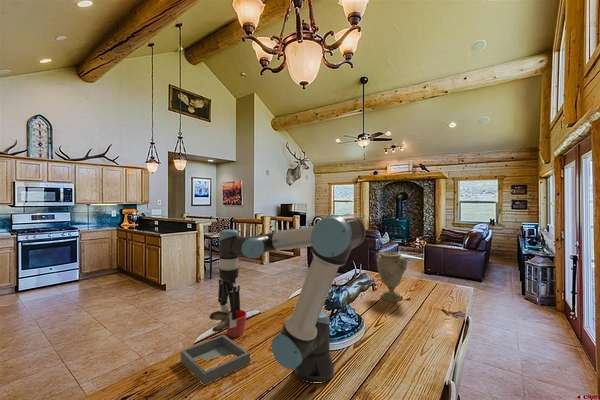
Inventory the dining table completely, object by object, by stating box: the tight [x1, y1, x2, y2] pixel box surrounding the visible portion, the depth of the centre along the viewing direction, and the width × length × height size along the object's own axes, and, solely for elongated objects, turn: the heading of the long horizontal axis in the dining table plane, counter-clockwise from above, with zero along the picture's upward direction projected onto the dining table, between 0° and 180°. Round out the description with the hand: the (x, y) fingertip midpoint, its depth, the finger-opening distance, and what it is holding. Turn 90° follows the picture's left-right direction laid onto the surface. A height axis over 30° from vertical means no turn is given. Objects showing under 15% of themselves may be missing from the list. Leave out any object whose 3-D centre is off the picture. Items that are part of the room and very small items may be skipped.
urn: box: [375, 251, 408, 303], centre depth 187 cm, size 24×18×30 cm
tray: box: [180, 334, 251, 385], centre depth 115 cm, size 21×19×4 cm
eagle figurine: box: [208, 309, 230, 333], centre depth 114 cm, size 8×7×9 cm
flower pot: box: [225, 309, 247, 338], centre depth 140 cm, size 11×11×10 cm
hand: (228, 323), depth 116 cm, fingers closed on eagle figurine, 7 cm apart
